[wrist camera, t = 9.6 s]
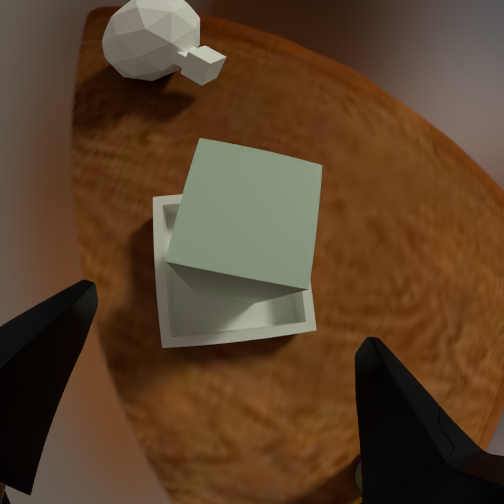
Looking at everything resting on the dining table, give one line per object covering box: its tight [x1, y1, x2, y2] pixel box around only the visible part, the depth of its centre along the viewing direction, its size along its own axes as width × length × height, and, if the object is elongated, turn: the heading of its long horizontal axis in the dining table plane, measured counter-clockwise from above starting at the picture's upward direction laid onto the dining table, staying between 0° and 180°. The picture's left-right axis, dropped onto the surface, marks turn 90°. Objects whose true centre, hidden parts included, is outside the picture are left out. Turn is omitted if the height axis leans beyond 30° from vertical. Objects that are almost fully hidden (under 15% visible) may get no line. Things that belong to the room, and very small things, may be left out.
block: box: [166, 138, 322, 303], centre depth 13 cm, size 4×4×11 cm
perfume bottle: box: [102, 0, 226, 86], centre depth 18 cm, size 9×9×12 cm
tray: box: [153, 194, 316, 348], centre depth 18 cm, size 9×9×3 cm
